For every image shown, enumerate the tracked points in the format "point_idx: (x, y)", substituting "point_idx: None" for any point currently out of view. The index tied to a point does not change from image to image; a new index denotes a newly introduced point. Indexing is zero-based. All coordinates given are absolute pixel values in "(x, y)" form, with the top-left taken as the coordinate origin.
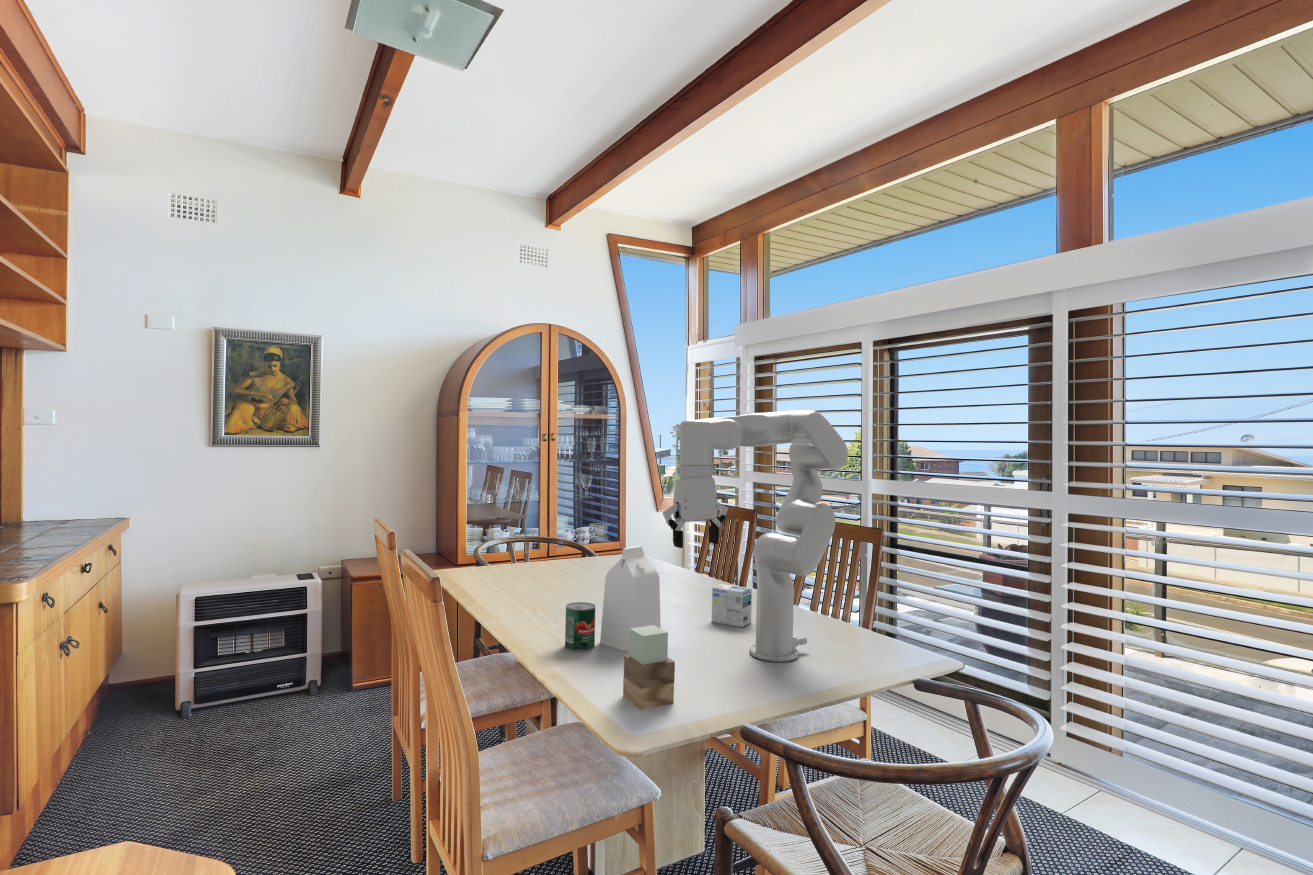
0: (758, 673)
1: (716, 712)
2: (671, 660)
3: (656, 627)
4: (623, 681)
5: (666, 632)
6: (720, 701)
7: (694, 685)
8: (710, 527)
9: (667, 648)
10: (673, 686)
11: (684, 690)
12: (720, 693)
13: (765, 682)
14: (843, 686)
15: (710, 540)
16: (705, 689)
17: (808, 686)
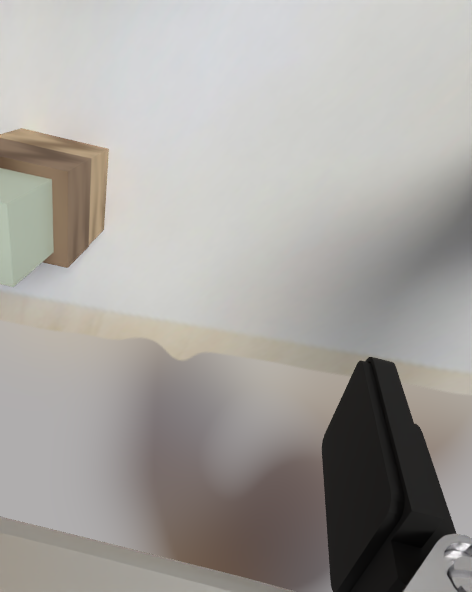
0: (394, 228)
1: (150, 307)
2: (64, 257)
3: (3, 228)
4: (2, 134)
5: (9, 285)
6: (191, 281)
7: (206, 185)
8: (372, 524)
9: (37, 265)
10: (89, 243)
11: (166, 193)
12: (221, 254)
13: (352, 273)
14: (451, 377)
15: (351, 393)
16: (211, 219)
17: (399, 338)
